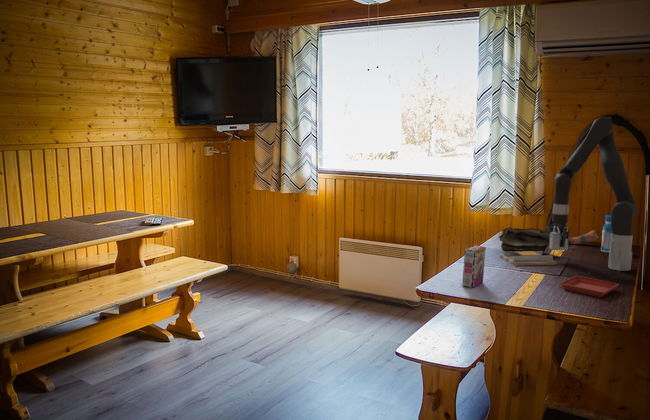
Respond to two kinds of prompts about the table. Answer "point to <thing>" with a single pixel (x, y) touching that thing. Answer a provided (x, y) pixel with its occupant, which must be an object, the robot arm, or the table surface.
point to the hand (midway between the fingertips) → (558, 245)
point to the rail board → (528, 262)
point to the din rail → (516, 257)
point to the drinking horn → (582, 238)
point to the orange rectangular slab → (528, 253)
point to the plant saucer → (589, 286)
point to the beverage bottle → (606, 234)
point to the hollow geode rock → (525, 239)
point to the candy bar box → (473, 266)
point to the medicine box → (557, 242)
